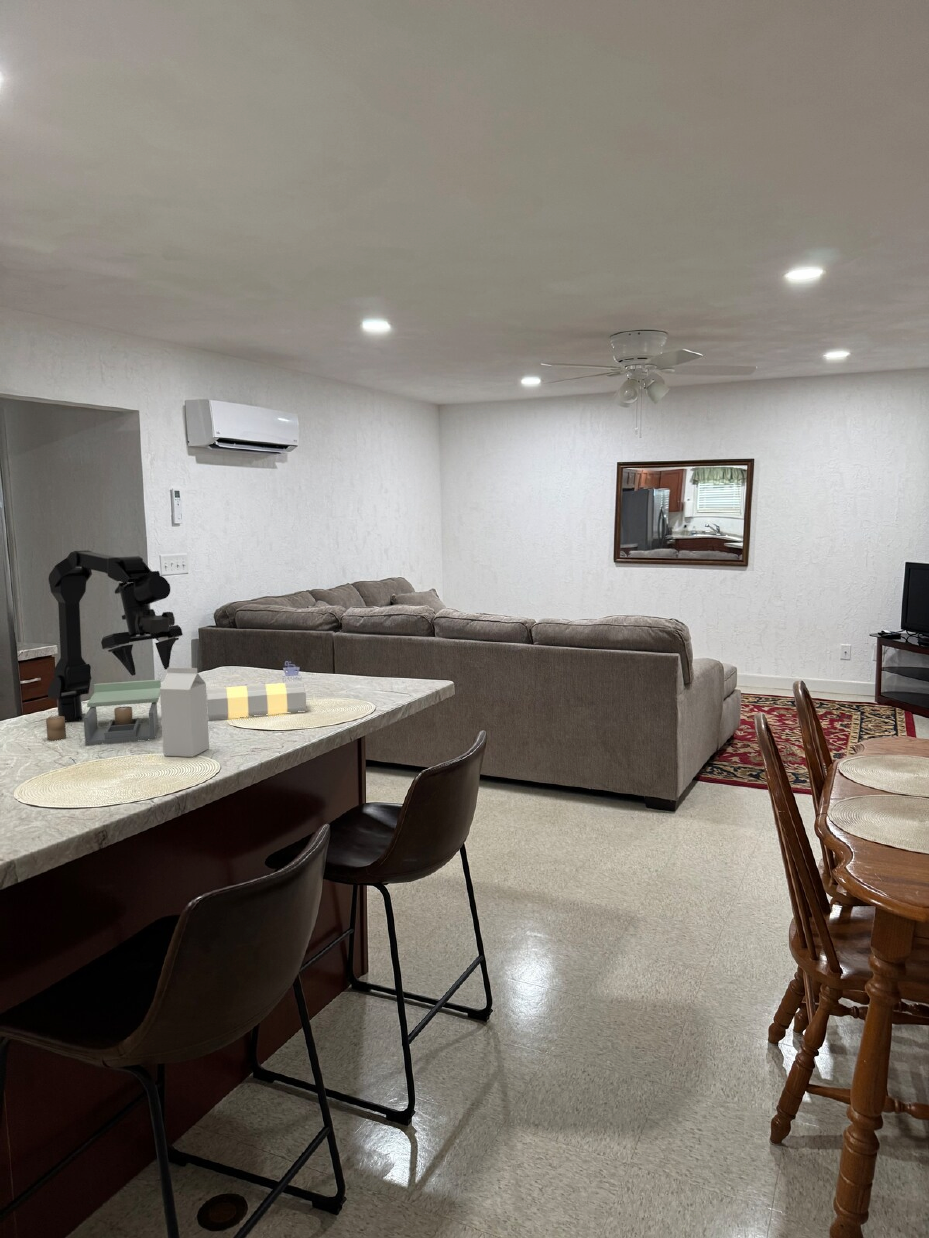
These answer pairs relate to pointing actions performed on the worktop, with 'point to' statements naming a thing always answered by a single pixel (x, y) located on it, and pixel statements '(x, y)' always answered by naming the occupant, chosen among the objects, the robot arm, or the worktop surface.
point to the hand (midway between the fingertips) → (150, 672)
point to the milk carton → (184, 713)
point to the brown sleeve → (56, 728)
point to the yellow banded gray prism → (257, 698)
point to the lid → (125, 693)
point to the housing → (120, 727)
